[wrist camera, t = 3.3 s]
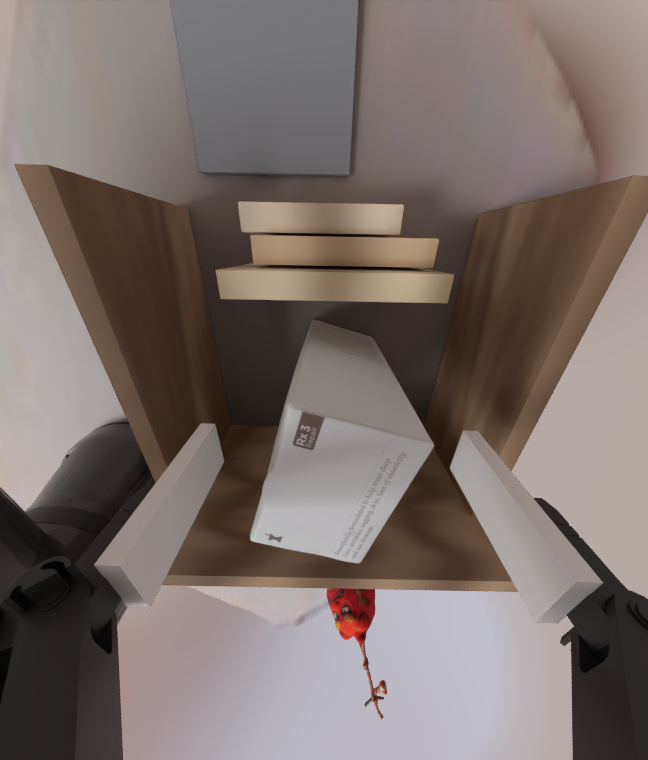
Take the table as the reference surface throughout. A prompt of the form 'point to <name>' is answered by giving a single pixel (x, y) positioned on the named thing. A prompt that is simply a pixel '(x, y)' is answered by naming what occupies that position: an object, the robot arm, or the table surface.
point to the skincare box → (339, 449)
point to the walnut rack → (256, 442)
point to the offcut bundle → (333, 256)
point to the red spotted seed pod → (356, 624)
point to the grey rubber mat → (269, 84)
